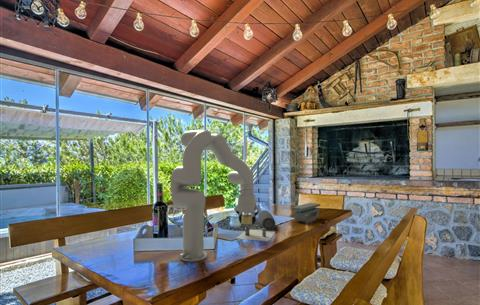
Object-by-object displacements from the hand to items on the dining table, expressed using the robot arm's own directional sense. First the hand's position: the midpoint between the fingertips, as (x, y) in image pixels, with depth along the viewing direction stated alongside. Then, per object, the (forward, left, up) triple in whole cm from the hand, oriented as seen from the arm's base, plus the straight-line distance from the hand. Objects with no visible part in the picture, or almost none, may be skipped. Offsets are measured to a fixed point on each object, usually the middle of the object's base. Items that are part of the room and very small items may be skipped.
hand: (247, 222), depth 166 cm
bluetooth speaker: (+24, -5, -9) cm, 26 cm away
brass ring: (0, 0, 0) cm, 0 cm away
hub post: (0, 0, -7) cm, 7 cm away
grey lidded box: (+52, -27, -9) cm, 60 cm away
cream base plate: (+2, -5, -9) cm, 10 cm away
